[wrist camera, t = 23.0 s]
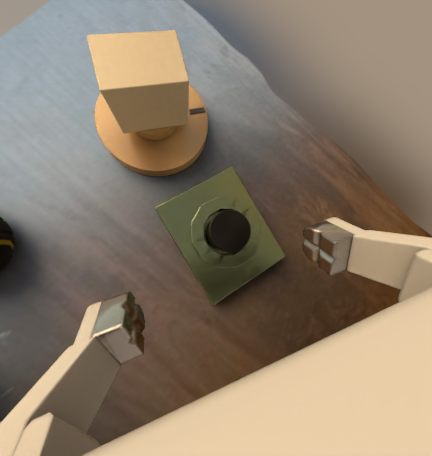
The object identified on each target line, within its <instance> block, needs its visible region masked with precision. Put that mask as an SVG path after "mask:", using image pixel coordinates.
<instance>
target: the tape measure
mask: <svg viewBox="0 0 432 456" xmlns="http://www.w3.org/2000/svg"><path fill="white" fill-rule="evenodd" d="M14 245H15V239H14V237H13V232H12V230H11V228H10V226H9V225H8V224H7V223H6V222H5V221H3V219H2V218H1V217H0V273H1V272H2V271H3V270H4V268H5V267H6V266H7V264H8V263H9V261H10V259H11V257H12V254H13V250H14Z"/></svg>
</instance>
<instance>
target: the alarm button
mask: <svg viewBox="0 0 432 456" xmlns="http://www.w3.org/2000/svg"><path fill="white" fill-rule="evenodd" d="M250 235H251V227H250V224H249V221H248V220H247V218H246V217H245V216H244V215H243V214H242V213H240V212H239V211H236V210H231V209H229V210H223V211H221V212H219V213H217V214H216V215H215V216H214V217H213V218H212V219H211V221H210V222H209V224H208V228H207V236H208V239H209V241H210V243H211V244H212V245H213V246H214V247H215V248H216V249H218V250H220V251H225V252H235V251H238V250H240V249H242V248H243V247H244V246H245V245H246V244H247V243H248V241H249V239H250Z"/></svg>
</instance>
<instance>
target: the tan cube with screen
mask: <svg viewBox="0 0 432 456" xmlns="http://www.w3.org/2000/svg"><path fill="white" fill-rule="evenodd" d="M87 39H88V43H89V47H90V51H91V55H92V60H93V64H94V68H95V72H96V76H97V81H98V85H99V89H100V92H101V93H102V95H103V97H104V99H105V101H106V103H107V104H108V106H109V108H110V110H111V112H112V113H113V115H114V117H115V119H116V121H117V123H118V124H119V126H120V128H121V130H122V132H123V133H130V132H136V133H137V134H138V135H140V136H142V137H144V138H146V139H151V140H160V139H164V138H166V137H168V136H170V135H171V134H172V133H173V132H174V131H175V130H176V128H177V126H178V125H185V124H188V107H189V79H188V75H187V71H186V67H185V64H184V60H183V56H182V52H181V48H180V45H179V41H178V37H177V33H176V31H175V30H171V31H154V32H136V33H118V34H101V35H87Z"/></svg>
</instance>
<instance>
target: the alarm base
mask: <svg viewBox="0 0 432 456" xmlns="http://www.w3.org/2000/svg"><path fill="white" fill-rule="evenodd" d="M229 209H231V210H236V211H239V212H240V213H242V214H243V215H244V216H245V217H246V218H247V220H248V221H249V224H250V227H251V235H250V239H249V241H248V243H247V244H246V245H245V246H244V247H243V248H242V249H240V250H238V251H235V252H225V251H220V250H218V249H216V248H215V247H214V246H213V245H212V244H211V243H210V241H209V239H208V236H207V228H208V224H209V222H210V221H211V219H212V218H213V217H214V216H215V215H216V214H217V213H219V212H221V211H223V210H229ZM155 210H156V211H157V213H158V215H159V216H160V218H161V220H162V221H163V223H164V225H165V226H166V228H167V230H168V231H169V233H170V235H171V236H172V238H173V240H174V241H175V243H176V245H177V246H178V248H179V250H180V251H181V253H182V255H183V256H184V258H185V260H186V261H187V263H188V265H189V266H190V268H191V270H192V271H193V273H194V275H195V276H196V278H197V280H198V281H199V283H200V285H201V286H202V288H203V290H204V291H205V293H206V295H207V296H208V298H209V300H210V301H211V303H212V305H213V306H214V305H215V304H217V303H218V302H220V301H221V300H223V299H224V298H226V297H227V296H228V295H230V294H231V293H233V292H234V291H236V290H237V289H239V288H240V287H242V286H243V285H244V284H246V283H247V282H249V281H250V280H252V279H253V278H255V277H256V276H258V275H259V274H261V273H262V272H263V271H265V270H266V269H268V268H269V267H271V266H272V265H274V264H275V263H277V262H278V261H279V260H281V259H282V258H284V257H285V256H286V255H285V254H284V252H283V250H282V249H281V247H280V245H279V244H278V242H277V240H276V239H275V237H274V235H273V234H272V232H271V230H270V229H269V227H268V225H267V224H266V222H265V220H264V219H263V217H262V215H261V214H260V212H259V210H258V209H257V207H256V205H255V204H254V202H253V200H252V199H251V197H250V195H249V194H248V192H247V190H246V189H245V187H244V185H243V184H242V182H241V180H240V178H239V177H238V175H237V173H236V172H235V170H234V168H233V167H232V166H231V167H229V168H227V169H226V170H224V171H222V172H220V173H218V174H216V175H214V176H213V177H211V178H209V179H207V180H205V181H203V182H201V183H199V184H198V185H196V186H194V187H192V188H190V189H188V190H186V191H185V192H183V193H181V194H179V195H177V196H175V197H173V198H172V199H170V200H168V201H166V202H164V203H162V204H160V205H159V206H157V207H155Z"/></svg>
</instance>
